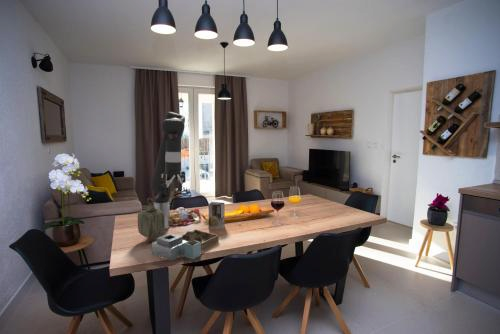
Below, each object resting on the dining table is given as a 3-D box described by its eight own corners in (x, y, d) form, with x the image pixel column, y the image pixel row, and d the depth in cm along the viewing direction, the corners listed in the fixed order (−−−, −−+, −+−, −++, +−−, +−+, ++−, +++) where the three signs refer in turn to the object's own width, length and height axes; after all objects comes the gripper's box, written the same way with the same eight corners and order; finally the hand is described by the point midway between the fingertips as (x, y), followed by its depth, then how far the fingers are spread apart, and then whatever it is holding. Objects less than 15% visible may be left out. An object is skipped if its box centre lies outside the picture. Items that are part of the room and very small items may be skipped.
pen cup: (184, 256, 136) (184, 243, 135) (192, 252, 141) (192, 239, 140) (193, 259, 133) (192, 245, 132) (200, 255, 138) (200, 242, 137)
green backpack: (165, 242, 154) (164, 199, 151) (150, 247, 147) (148, 201, 144) (152, 235, 163) (150, 194, 160) (137, 240, 157) (135, 197, 154)
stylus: (190, 254, 138) (189, 231, 137) (194, 254, 138) (194, 230, 137) (190, 256, 136) (189, 232, 134) (194, 255, 136) (194, 232, 135)
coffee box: (225, 226, 182) (225, 202, 180) (221, 229, 175) (221, 205, 173) (212, 225, 184) (212, 201, 182) (208, 228, 178) (208, 203, 176)
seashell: (176, 233, 151) (181, 239, 142) (193, 219, 155) (199, 224, 146) (188, 248, 155) (193, 254, 146) (204, 234, 159) (210, 239, 150)
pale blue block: (152, 253, 139) (151, 237, 138) (169, 246, 148) (168, 231, 147) (171, 260, 132) (170, 243, 131) (187, 252, 141) (187, 236, 140)
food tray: (177, 229, 176) (177, 215, 175) (156, 221, 190) (156, 208, 189) (206, 219, 196) (206, 207, 195) (185, 213, 210) (185, 202, 209)
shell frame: (175, 244, 150) (175, 237, 150) (196, 235, 164) (195, 229, 164) (198, 252, 141) (198, 244, 141) (218, 242, 155) (218, 235, 155)
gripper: (167, 162, 126) (167, 196, 129) (189, 160, 138) (189, 191, 141) (156, 161, 130) (156, 194, 132) (178, 159, 142) (178, 189, 144)
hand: (173, 192), depth 136 cm, fingers open, 8 cm apart
